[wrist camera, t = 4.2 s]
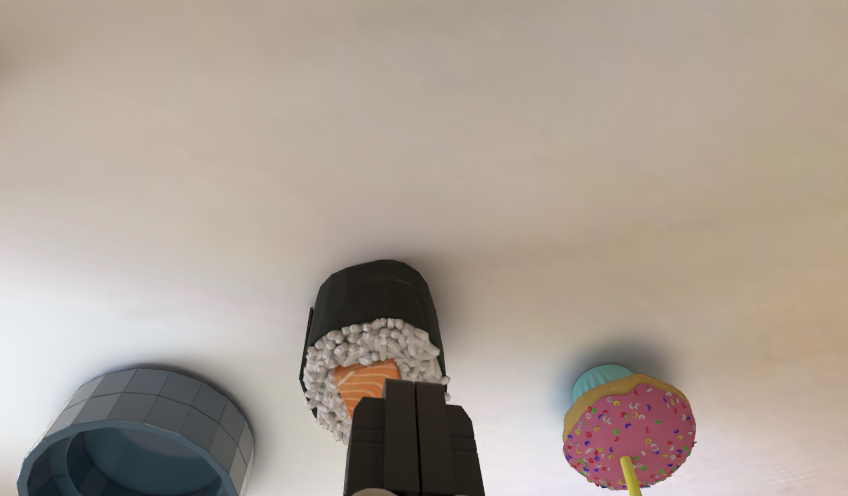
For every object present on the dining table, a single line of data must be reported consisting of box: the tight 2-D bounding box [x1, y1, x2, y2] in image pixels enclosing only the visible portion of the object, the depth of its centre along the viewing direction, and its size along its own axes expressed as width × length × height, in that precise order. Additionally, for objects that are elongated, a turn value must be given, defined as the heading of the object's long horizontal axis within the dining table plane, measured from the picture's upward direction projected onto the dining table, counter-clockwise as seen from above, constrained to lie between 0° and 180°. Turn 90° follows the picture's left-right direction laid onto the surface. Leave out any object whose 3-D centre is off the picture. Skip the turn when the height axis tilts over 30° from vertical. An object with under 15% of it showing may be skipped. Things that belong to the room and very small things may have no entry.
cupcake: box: [563, 364, 697, 496], centre depth 36 cm, size 9×8×12 cm
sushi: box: [299, 260, 451, 445], centre depth 34 cm, size 8×8×8 cm
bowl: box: [16, 368, 254, 496], centre depth 39 cm, size 13×13×6 cm
